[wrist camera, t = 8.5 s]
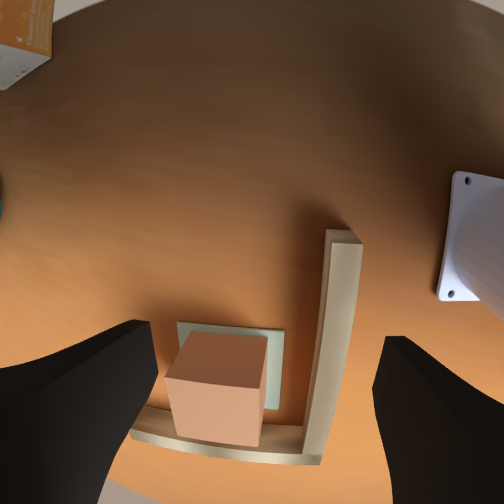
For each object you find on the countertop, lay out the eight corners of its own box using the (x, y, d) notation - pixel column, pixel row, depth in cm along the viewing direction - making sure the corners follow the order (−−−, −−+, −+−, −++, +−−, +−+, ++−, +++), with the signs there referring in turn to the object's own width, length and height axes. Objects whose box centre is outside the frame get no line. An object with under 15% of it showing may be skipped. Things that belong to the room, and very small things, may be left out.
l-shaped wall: (351, 230, 17) (363, 244, 14) (318, 437, 22) (319, 465, 19) (107, 223, 19) (80, 234, 16) (144, 415, 23) (131, 438, 21)
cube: (268, 337, 19) (259, 388, 14) (266, 394, 21) (258, 447, 16) (191, 330, 20) (164, 377, 15) (197, 387, 21) (177, 435, 16)
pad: (284, 330, 19) (284, 331, 19) (278, 408, 21) (278, 409, 21) (177, 321, 20) (176, 322, 20) (187, 397, 22) (187, 399, 22)
